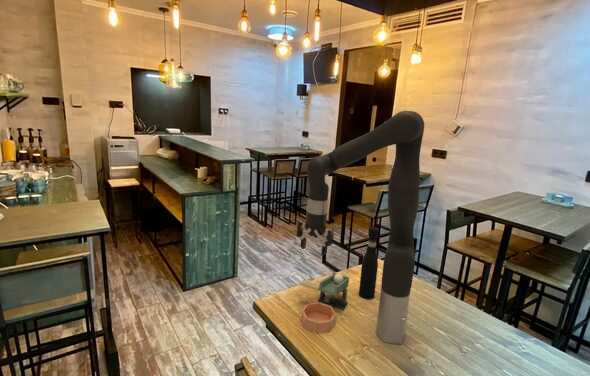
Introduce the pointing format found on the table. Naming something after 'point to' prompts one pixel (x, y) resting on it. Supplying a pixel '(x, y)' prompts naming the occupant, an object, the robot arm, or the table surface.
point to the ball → (338, 278)
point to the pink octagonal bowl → (318, 317)
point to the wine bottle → (369, 267)
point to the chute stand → (334, 300)
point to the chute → (327, 285)
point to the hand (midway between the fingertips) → (313, 251)
